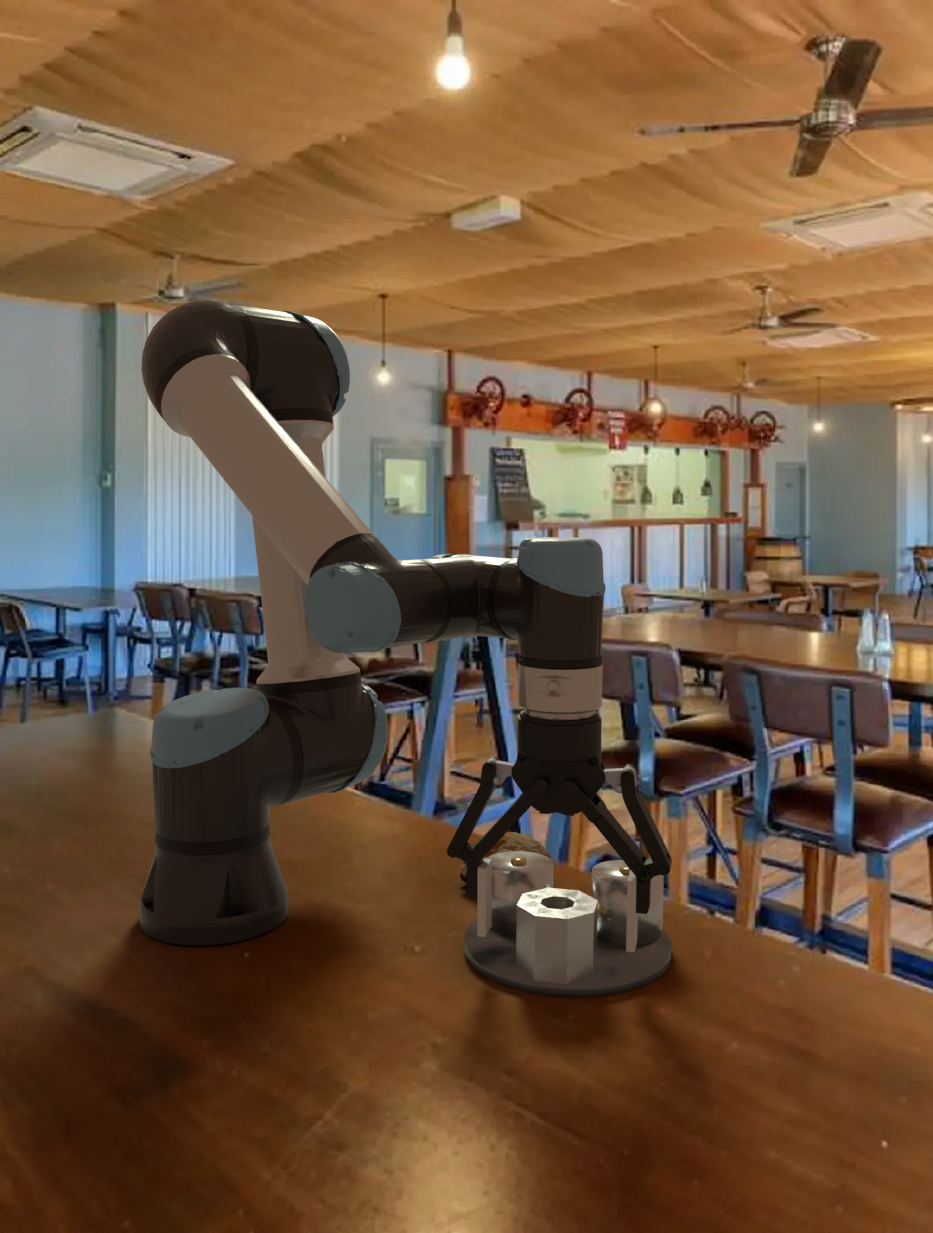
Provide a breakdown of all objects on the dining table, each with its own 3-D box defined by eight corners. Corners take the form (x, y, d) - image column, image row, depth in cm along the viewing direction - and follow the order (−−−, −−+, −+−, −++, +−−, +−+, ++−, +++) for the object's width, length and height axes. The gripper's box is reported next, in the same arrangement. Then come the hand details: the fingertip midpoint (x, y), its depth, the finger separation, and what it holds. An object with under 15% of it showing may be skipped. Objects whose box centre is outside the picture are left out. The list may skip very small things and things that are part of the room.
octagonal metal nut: (526, 946, 103) (526, 885, 103) (599, 953, 102) (600, 892, 101) (511, 977, 97) (512, 913, 96) (589, 986, 95) (590, 921, 94)
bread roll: (524, 937, 117) (555, 876, 116) (442, 889, 119) (472, 828, 118) (544, 904, 127) (573, 847, 125) (468, 860, 129) (496, 803, 127)
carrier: (441, 982, 98) (440, 902, 97) (489, 902, 118) (489, 834, 117) (664, 1008, 93) (666, 924, 93) (676, 919, 113) (678, 849, 112)
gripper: (413, 711, 96) (414, 941, 98) (700, 726, 90) (694, 970, 92) (436, 696, 103) (436, 910, 106) (703, 709, 97) (697, 935, 100)
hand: (557, 938), depth 99 cm, fingers open, 13 cm apart
